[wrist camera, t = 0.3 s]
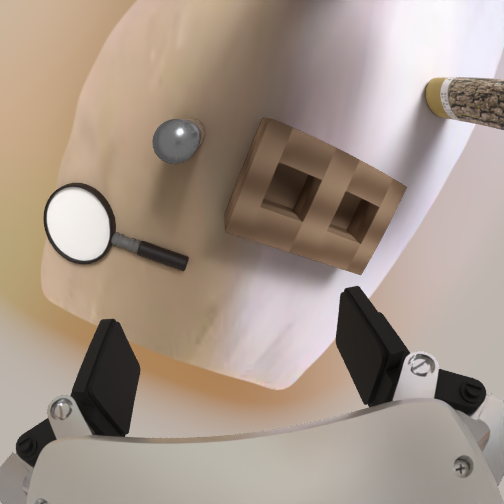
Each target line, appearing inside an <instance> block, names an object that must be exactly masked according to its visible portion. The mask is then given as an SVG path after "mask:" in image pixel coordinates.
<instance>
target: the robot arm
mask: <svg viewBox="0 0 504 504" xmlns="http://www.w3.org/2000/svg"><path fill="white" fill-rule="evenodd" d="M336 345H337V348H338V350H339V352H340V354H341V356H342V358H343V360H344V362H345V364H346V367H347V369H348V371H349V373H350V375H351V377H352V379H353V381H354V384H355V386H356V388H357V390H358V392H359V395H360V397H361V399H362V401H363V403H364V404H365V405H366V404H368V406H369V408H366V409H362V410H359V411H355V412H351V413H347V414H344V415H340V416H336V417H332V418H328V419H324V420H319V421H315V422H310V423H306V424H301V425H296V426H291V427H285V428H279V429H274V430H267V431H260V432H253V433H244V434H235V435H225V436H213V437H197V438H134V437H125V435H126V434H128V433H129V429H130V422H131V417H132V411H133V405H134V400H135V395H136V390H137V385H138V380H139V375H140V366H139V363H138V361H137V359H136V357H135V355H134V353H133V351H132V349H131V347H130V345H129V342H128V340H127V338H126V336H125V334H124V332H123V329H122V327H121V325H120V323H119V322H116V320H115V319H102V320H101V321H100V323H99V325H98V328H97V330H96V332H95V334H94V337H93V339H92V341H91V343H90V346H89V348H88V351H87V353H86V356H85V358H84V361H83V363H82V365H81V368H80V370H79V373H78V375H77V378H76V381H75V383H74V386H73V389H72V393H71V396H67V395H61V396H59V397H56V398H55V399H54V400H52V402H51V403H50V404H49V406H48V410H47V414H48V418H47V419H46V420H44V421H43V422H41V423H39V424H38V425H36V426H35V427H33V428H32V429H30V430H29V431H27V432H26V433H24V434H23V435H21V436H20V437H19V439H18V441H17V443H16V452H17V453H16V454H14V453H12V454H11V455H10V456H9V457H8V459H7V460H6V461H5V462H4V463H3V464H2V466H1V467H0V501H1V502H2V504H504V502H503V499H502V497H501V494H500V491H499V489H498V485H499V483H500V481H501V479H502V477H503V476H504V401H503V400H502V399H500V398H498V397H497V396H495V395H493V394H490V396H489V395H487V394H486V390H485V387H484V386H483V384H482V383H481V382H480V381H478V380H476V379H474V378H470V377H467V376H463V375H459V374H456V373H452V372H449V371H445V370H442V369H439V364H438V361H437V360H436V358H435V357H434V356H433V355H431V354H429V353H427V352H423V351H416V352H413V353H410V352H409V351H408V349H407V347H406V346H405V345H404V343H403V342H402V340H401V339H400V338H399V336H398V335H397V333H396V332H395V331H394V329H393V328H392V326H391V325H390V324H389V322H388V321H387V319H386V318H385V317H384V315H383V314H382V313H380V312H378V311H377V310H376V309H375V307H374V306H373V304H372V303H371V302H370V300H369V299H368V298H367V296H366V295H365V294H364V292H363V291H362V290H361V288H360V287H359V286H355V287H349V288H345V290H344V292H342V293H341V295H340V305H339V315H338V324H337V332H336Z"/></svg>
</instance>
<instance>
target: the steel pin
mask: <svg viewBox="0 0 504 504" xmlns="http://www.w3.org/2000/svg"><path fill="white" fill-rule="evenodd" d="M204 137H205V130H204V127H203V125H202V124H201V123H200V122H199V121H197V120H195V119H173V120H169V121H166V122H164V123H163V124H161V125H160V126H159V127H158V128H157V130H156V131H155V133H154V136H153V148H154V151H155V153H156V155H157V156H158V157H159V158H160V159H161V160H163V161H164V162H167V163H170V164H178V163H182V162H184V161H186V160H188V159H189V158H190V157H191V156H192V155H193V154H194V152H195V151H196V150H197V148H198V147H199V146H200V144H201V143H202V141H203V140H204Z"/></svg>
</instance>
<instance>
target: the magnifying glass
mask: <svg viewBox="0 0 504 504" xmlns="http://www.w3.org/2000/svg"><path fill="white" fill-rule="evenodd" d="M44 227H45V231H46V234H47V237H48V239H49V241H50V243H51V244H52V246H53V247H54V249H55V250H56V251H57V252H58V253H59V254H60V255H61V256H63V257H64V258H66V259H67V260H69V261H71V262H74V263H78V264H90V263H93V262H96V261H98V260H99V259H101V258H102V257H103V256H104V255H105V254H106V253H107V252H108V250H109V249H110V247H111V246H112V244H113V245H114V246H115V245H117V247H123V248H125V249H128V251H133V253H137V255H139V256H142V257H145V258H148V259H150V260H153V261H156V262H159V263H162V264H165V265H167V266H170V267H173V268H176V269H179V270H182V271H184V270H185V268H186V265H187V262H188V259H189V258H188V257H187V256H184V255H181V254H179V253H176V252H173V251H170V250H167V249H164V248H162V247H159V246H156V245H153V244H150V243H147V242H145V241H141V242H140V241H139V240H135V239H134V238H132V239H131V238H128V237H125V236H124V235H123V234H121V235H120V234H119V233H118V232H117V233H116V223H115V217H114V214H113V211H112V209H111V207H110V205H109V203H108V201H107V200H106V199H105V197H104V196H103V195H102V194H101V193H100V192H99V191H97V190H96V189H95V188H93V187H91V186H89V185H87V184H83V183H70V184H67V185H64V186H62V187H60V188H59V189H57V190H56V191H55V192H54V193H53V194H52V195H51V196H50V198H49V199H48V201H47V204H46V206H45V210H44Z"/></svg>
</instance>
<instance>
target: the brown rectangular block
mask: <svg viewBox="0 0 504 504" xmlns="http://www.w3.org/2000/svg"><path fill="white" fill-rule="evenodd" d="M406 188H407V187H406V186H404V185H403V184H401V183H400V182H398V181H396V180H395V179H393V178H391V177H389V176H388V175H386V174H384V173H383V172H381V171H379V170H377V169H375V168H374V167H372V166H370V165H368V164H366V163H365V162H363V161H361V160H359V159H357V158H355V157H353V156H351V155H349V154H347V153H346V152H344V151H342V150H340V149H338V148H336V147H334V146H331V145H329V144H327V143H325V142H323V141H321V140H319V139H317V138H315V137H312V136H310V135H308V134H306V133H304V132H301V131H299V130H297V129H294V128H292V127H290V126H287V125H285V124H283V123H280V122H278V121H275V120H273V119H269V118H262V121H261V123H260V125H259V128H258V130H257V133H256V135H255V138H254V140H253V143H252V145H251V148H250V150H249V153H248V155H247V158H246V160H245V163H244V165H243V168H242V170H241V173H240V176H239V178H238V181H237V183H236V186H235V189H234V191H233V194H232V196H231V199H230V202H229V204H228V207H227V210H226V212H225V215H224V216H225V232H226V233H229V234H232V235H236V236H239V237H242V238H245V239H248V240H252V241H255V242H258V243H261V244H264V245H268V246H271V247H274V248H277V249H280V250H284V251H287V252H290V253H293V254H296V255H299V256H302V257H306V258H309V259H312V260H315V261H318V262H321V263H324V264H328V265H331V266H334V267H337V268H340V269H343V270H346V271H349V272H352V273H355V274H359V275H361V274H362V273H363V271H364V269H365V268H366V266H367V264H368V262H369V260H370V259H371V257H372V255H373V253H374V251H375V250H376V248H377V246H378V244H379V242H380V240H381V239H382V237H383V235H384V233H385V231H386V229H387V227H388V225H389V223H390V221H391V219H392V217H393V215H394V213H395V211H396V209H397V207H398V205H399V203H400V201H401V199H402V197H403V195H404V192H405V190H406Z"/></svg>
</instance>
